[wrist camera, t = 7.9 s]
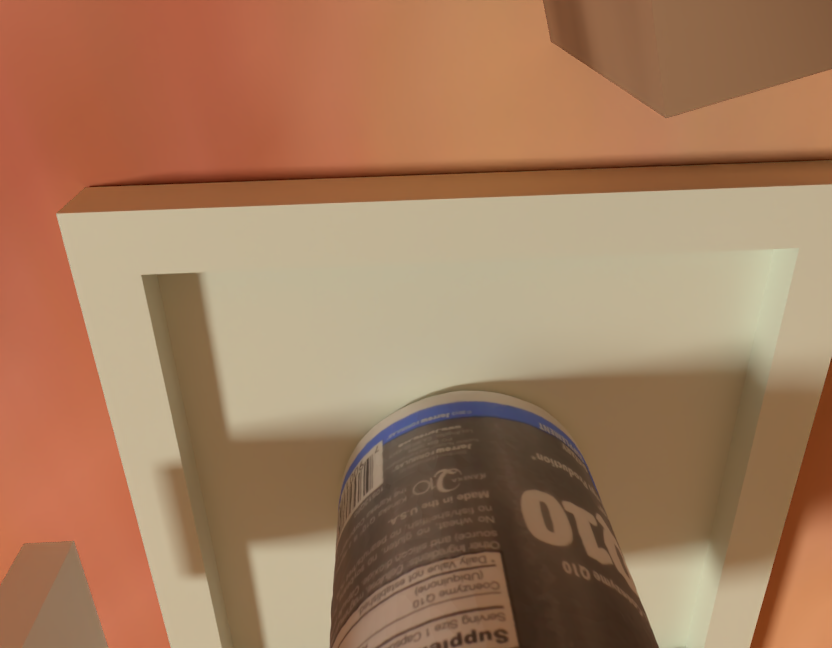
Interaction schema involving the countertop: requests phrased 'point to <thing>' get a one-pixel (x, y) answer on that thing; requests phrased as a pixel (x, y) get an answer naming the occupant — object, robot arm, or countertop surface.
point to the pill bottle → (477, 535)
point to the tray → (458, 365)
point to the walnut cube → (694, 45)
